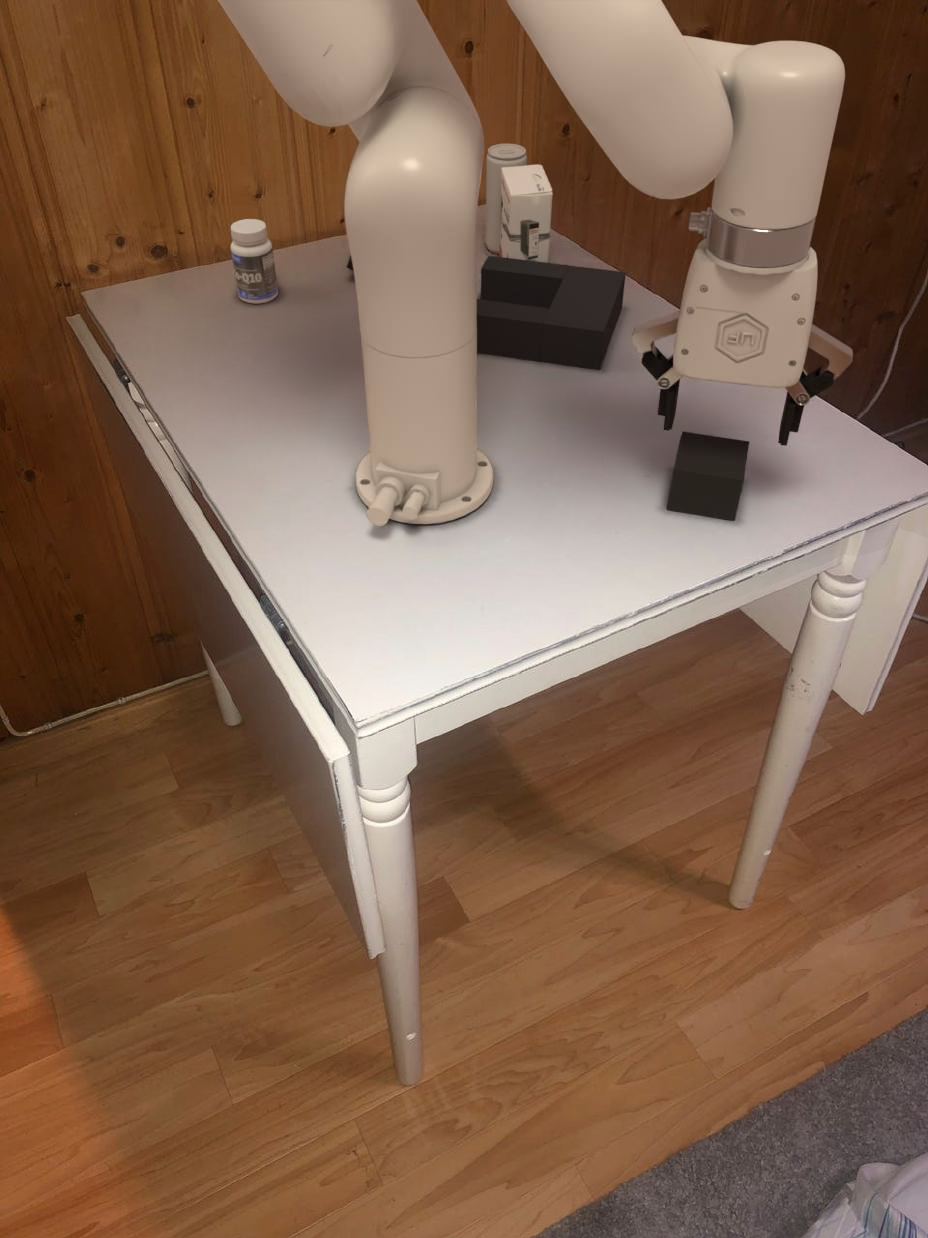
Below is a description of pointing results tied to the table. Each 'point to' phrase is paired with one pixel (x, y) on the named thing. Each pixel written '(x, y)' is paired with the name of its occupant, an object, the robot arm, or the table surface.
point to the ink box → (525, 213)
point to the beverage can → (498, 187)
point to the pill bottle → (253, 261)
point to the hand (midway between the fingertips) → (725, 429)
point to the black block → (708, 475)
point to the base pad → (547, 311)
